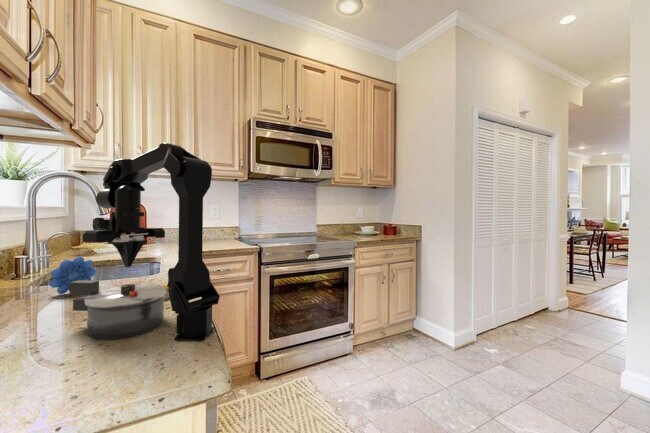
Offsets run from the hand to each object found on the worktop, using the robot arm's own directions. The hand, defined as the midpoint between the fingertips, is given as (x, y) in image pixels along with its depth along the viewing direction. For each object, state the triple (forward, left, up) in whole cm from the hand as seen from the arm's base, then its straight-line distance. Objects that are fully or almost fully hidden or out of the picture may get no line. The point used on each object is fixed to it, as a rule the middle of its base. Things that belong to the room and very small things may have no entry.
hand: (127, 266), depth 78 cm
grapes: (+31, -18, -13) cm, 38 cm away
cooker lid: (-4, +9, -6) cm, 11 cm away
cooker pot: (-4, +8, -13) cm, 16 cm away
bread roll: (+1, -16, -13) cm, 21 cm away
